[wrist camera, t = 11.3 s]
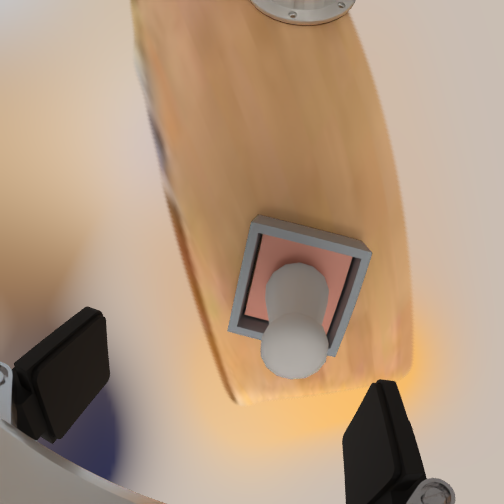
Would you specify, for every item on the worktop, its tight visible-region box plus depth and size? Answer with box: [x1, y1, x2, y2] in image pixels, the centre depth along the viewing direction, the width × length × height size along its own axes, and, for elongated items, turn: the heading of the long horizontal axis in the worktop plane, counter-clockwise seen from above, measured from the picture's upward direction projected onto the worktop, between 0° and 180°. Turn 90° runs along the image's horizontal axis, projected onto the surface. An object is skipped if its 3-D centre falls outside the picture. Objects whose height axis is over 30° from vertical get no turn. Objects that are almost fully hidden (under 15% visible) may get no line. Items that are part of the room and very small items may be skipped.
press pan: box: [244, 234, 352, 334], centre depth 31 cm, size 9×9×1 cm
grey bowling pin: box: [261, 262, 329, 379], centre depth 24 cm, size 6×6×13 cm
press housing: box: [228, 215, 372, 357], centre depth 31 cm, size 11×11×5 cm
